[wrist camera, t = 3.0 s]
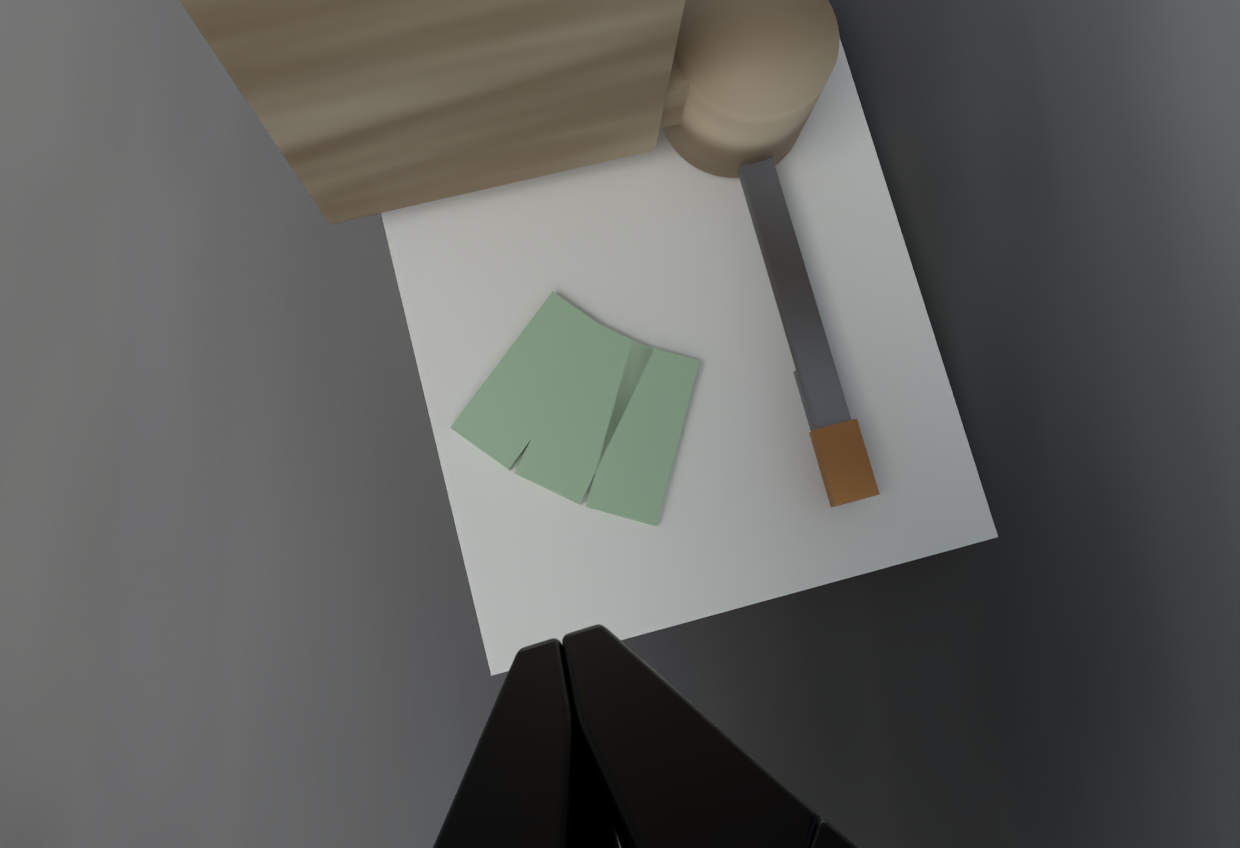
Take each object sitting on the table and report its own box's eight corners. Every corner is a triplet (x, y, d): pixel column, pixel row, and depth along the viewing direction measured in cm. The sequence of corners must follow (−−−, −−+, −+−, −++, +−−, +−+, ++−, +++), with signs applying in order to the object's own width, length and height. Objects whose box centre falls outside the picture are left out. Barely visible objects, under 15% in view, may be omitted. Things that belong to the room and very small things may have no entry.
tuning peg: (920, 484, 21) (1160, 417, 12) (423, 616, 20) (315, 642, 11) (780, 29, 22) (909, -308, 14) (311, 131, 21) (143, -164, 13)
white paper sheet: (975, 539, 22) (1004, 536, 21) (495, 670, 21) (490, 677, 20) (811, 17, 24) (827, -20, 22) (362, 115, 23) (349, 83, 21)
